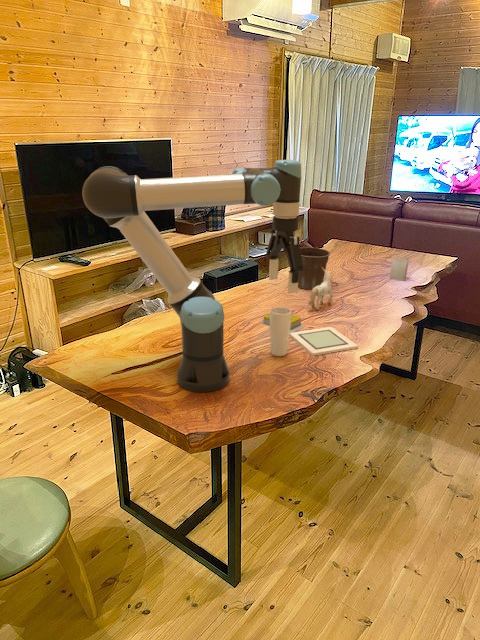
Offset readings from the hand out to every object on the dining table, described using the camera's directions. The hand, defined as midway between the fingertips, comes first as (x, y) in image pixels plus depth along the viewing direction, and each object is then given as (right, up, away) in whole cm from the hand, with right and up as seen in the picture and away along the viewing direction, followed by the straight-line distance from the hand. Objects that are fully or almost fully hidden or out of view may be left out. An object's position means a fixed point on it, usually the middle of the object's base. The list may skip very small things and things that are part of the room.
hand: (282, 285), depth 149 cm
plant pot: (+19, +5, +73) cm, 76 cm away
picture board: (+15, -18, +17) cm, 29 cm away
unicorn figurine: (+18, -4, +51) cm, 55 cm away
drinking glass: (0, -22, +9) cm, 23 cm away
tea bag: (+63, +9, +86) cm, 107 cm away
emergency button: (+3, -13, +32) cm, 34 cm away
